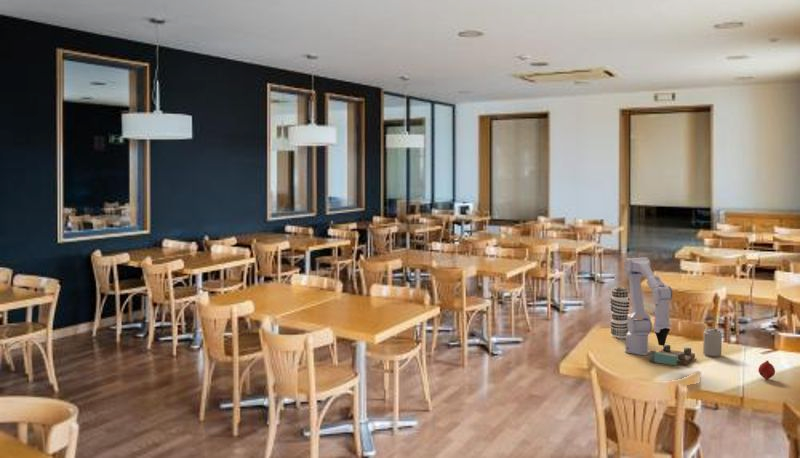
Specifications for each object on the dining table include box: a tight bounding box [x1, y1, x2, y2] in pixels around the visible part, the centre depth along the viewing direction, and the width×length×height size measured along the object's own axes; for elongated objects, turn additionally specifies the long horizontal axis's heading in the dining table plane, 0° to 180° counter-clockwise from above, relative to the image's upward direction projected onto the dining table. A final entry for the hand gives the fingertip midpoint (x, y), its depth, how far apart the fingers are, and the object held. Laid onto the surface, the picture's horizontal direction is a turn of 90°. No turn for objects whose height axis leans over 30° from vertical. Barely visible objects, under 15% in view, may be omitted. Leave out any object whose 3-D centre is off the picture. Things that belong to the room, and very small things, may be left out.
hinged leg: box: [649, 350, 677, 366], centre depth 291 cm, size 11×2×4 cm, turn 51°
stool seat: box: [658, 344, 696, 367], centre depth 296 cm, size 14×14×4 cm
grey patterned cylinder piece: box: [609, 285, 631, 339], centre depth 336 cm, size 9×9×25 cm
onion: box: [757, 360, 776, 381], centre depth 267 cm, size 6×6×8 cm
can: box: [702, 327, 723, 358], centre depth 301 cm, size 8×8×12 cm
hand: (661, 345), depth 287 cm, fingers closed
